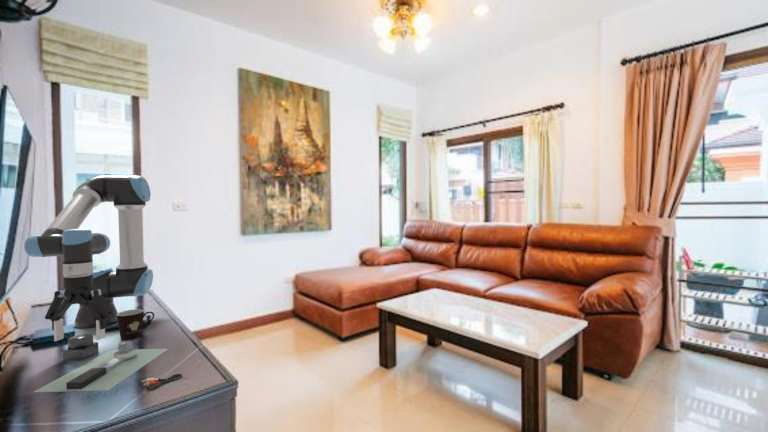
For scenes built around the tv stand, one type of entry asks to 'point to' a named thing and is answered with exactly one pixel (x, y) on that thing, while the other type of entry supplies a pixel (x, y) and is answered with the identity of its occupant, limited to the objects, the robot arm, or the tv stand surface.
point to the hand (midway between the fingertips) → (80, 339)
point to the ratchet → (104, 367)
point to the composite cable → (159, 381)
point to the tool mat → (112, 376)
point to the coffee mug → (131, 323)
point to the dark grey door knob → (80, 348)
